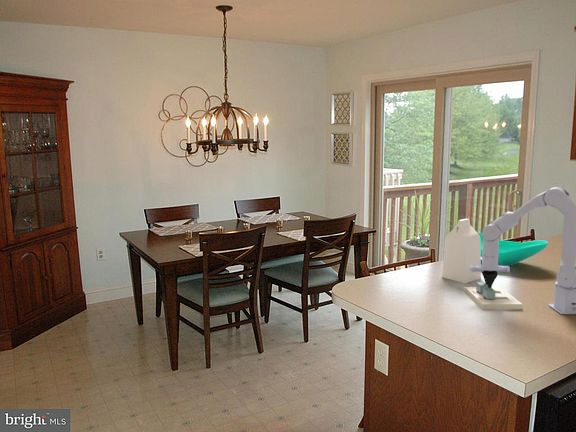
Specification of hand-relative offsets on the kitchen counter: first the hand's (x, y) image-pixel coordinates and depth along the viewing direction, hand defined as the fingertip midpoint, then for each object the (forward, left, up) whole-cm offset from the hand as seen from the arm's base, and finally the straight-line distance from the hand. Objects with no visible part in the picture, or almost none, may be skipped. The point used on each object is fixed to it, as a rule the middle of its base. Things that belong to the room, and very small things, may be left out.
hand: (488, 289), depth 189 cm
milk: (+26, +2, -3) cm, 27 cm away
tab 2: (-7, +2, -1) cm, 7 cm away
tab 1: (0, +2, -1) cm, 3 cm away
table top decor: (+48, -24, -3) cm, 54 cm away
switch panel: (-4, 0, -3) cm, 5 cm away
